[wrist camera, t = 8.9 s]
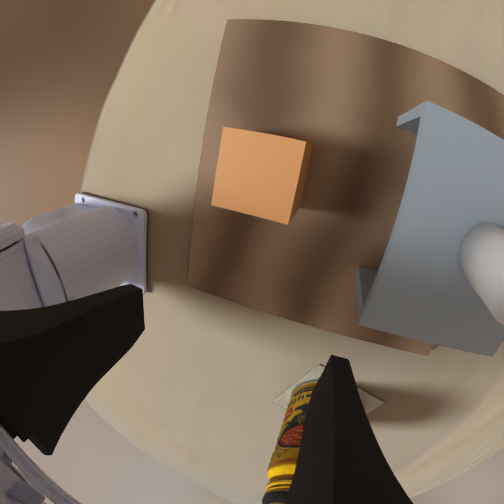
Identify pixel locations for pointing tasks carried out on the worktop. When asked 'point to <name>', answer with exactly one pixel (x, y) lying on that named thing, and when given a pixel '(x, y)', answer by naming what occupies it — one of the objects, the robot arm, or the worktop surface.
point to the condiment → (296, 433)
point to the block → (261, 174)
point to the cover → (443, 240)
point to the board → (320, 165)
